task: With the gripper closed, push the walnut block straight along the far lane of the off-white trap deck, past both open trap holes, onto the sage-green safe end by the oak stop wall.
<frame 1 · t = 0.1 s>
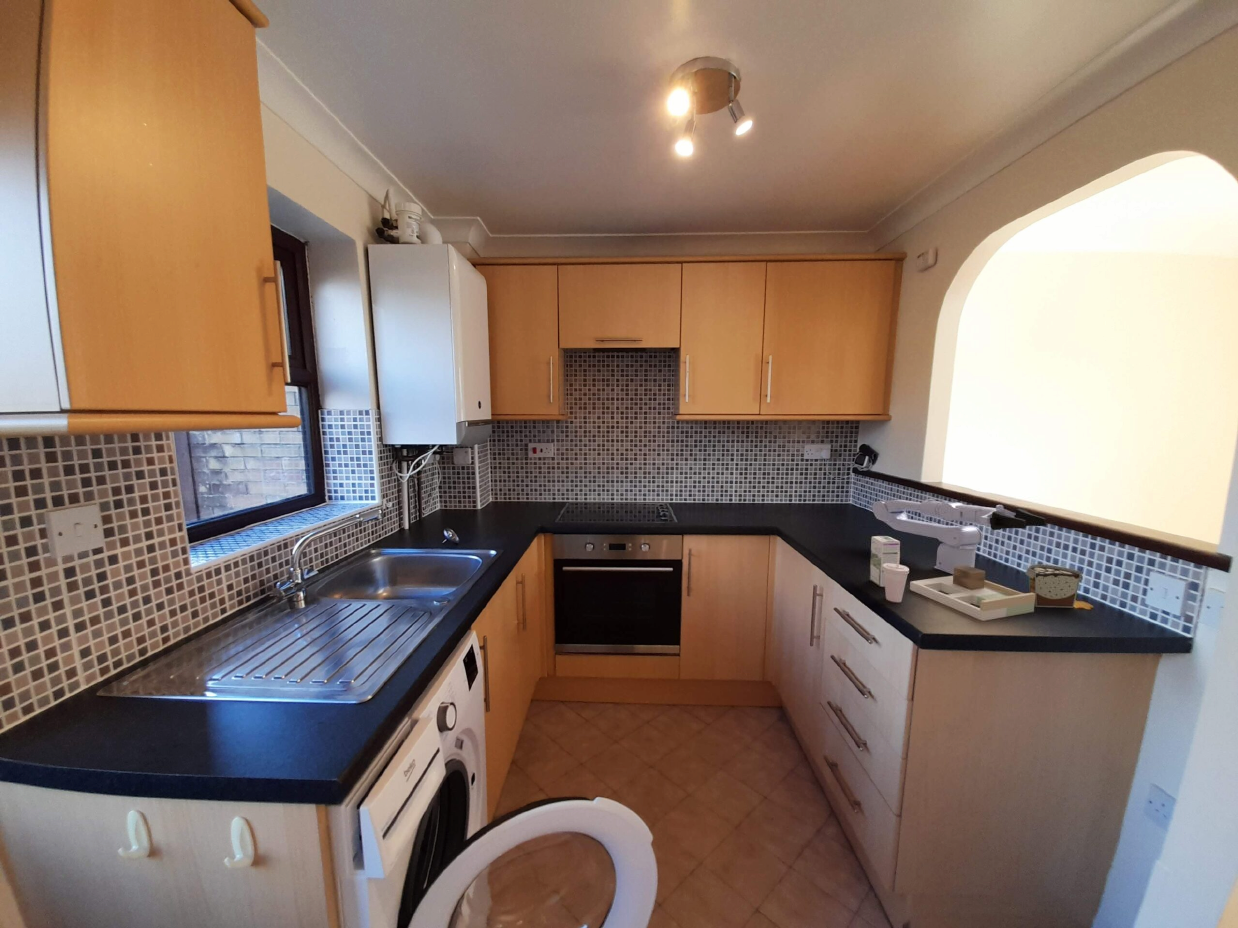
hand: (1035, 523, 116), 22 cm above the worktop, tool horizontal, fingers open, 7 cm apart
food container: (1043, 602, 115), on the worktop
smoothie: (893, 600, 118), on the worktop
trap deck: (967, 599, 117), on the worktop
walnut block: (968, 585, 120), point 2 cm above the worktop, touching trap deck
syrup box: (883, 583, 129), on the worktop
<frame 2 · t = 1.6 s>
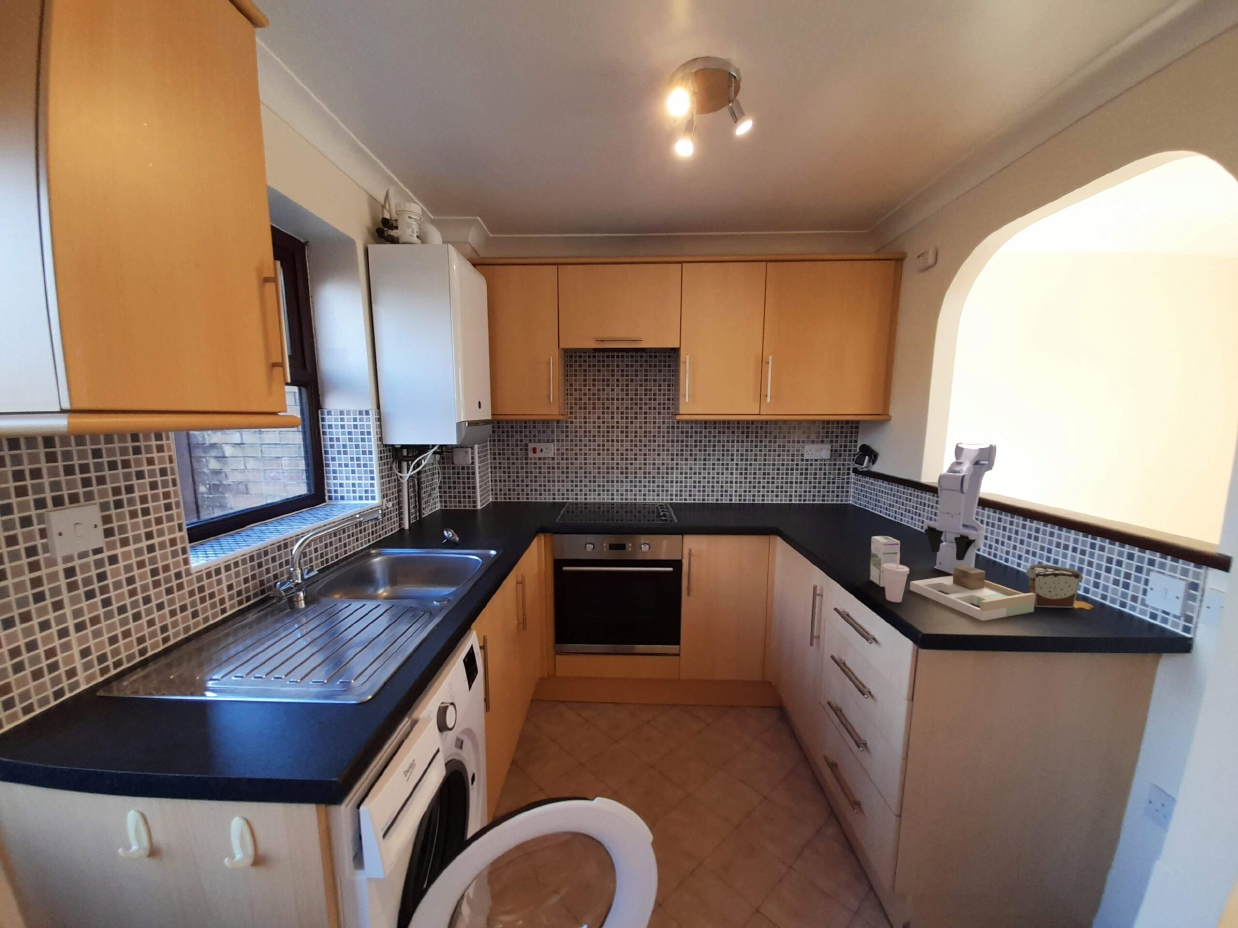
hand: (947, 555, 126), 9 cm above the worktop, tool pointing down, fingers open, 7 cm apart
nothing on the worktop moved.
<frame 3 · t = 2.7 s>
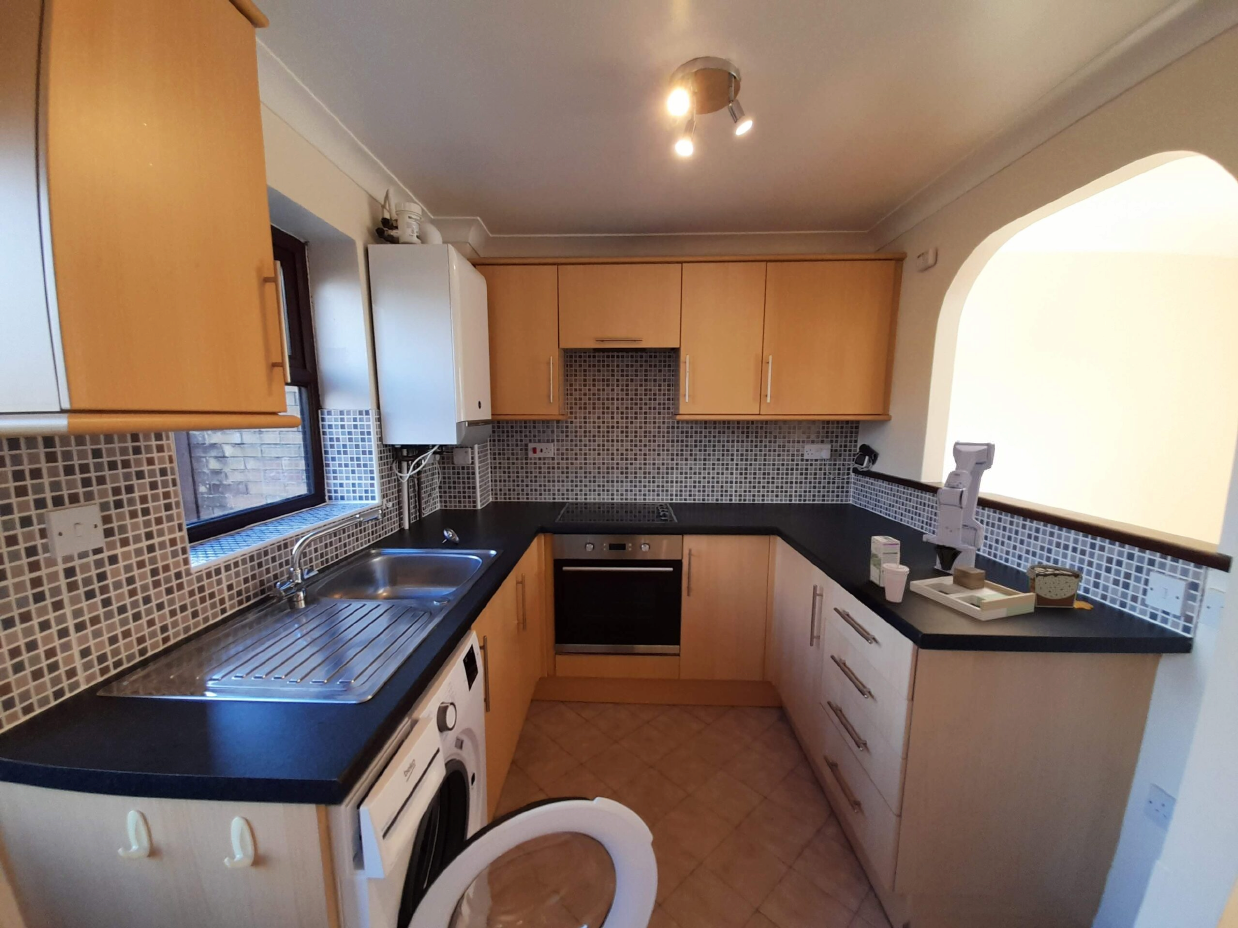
hand: (946, 569, 126), 5 cm above the worktop, tool pointing down, fingers closed
nothing on the worktop moved.
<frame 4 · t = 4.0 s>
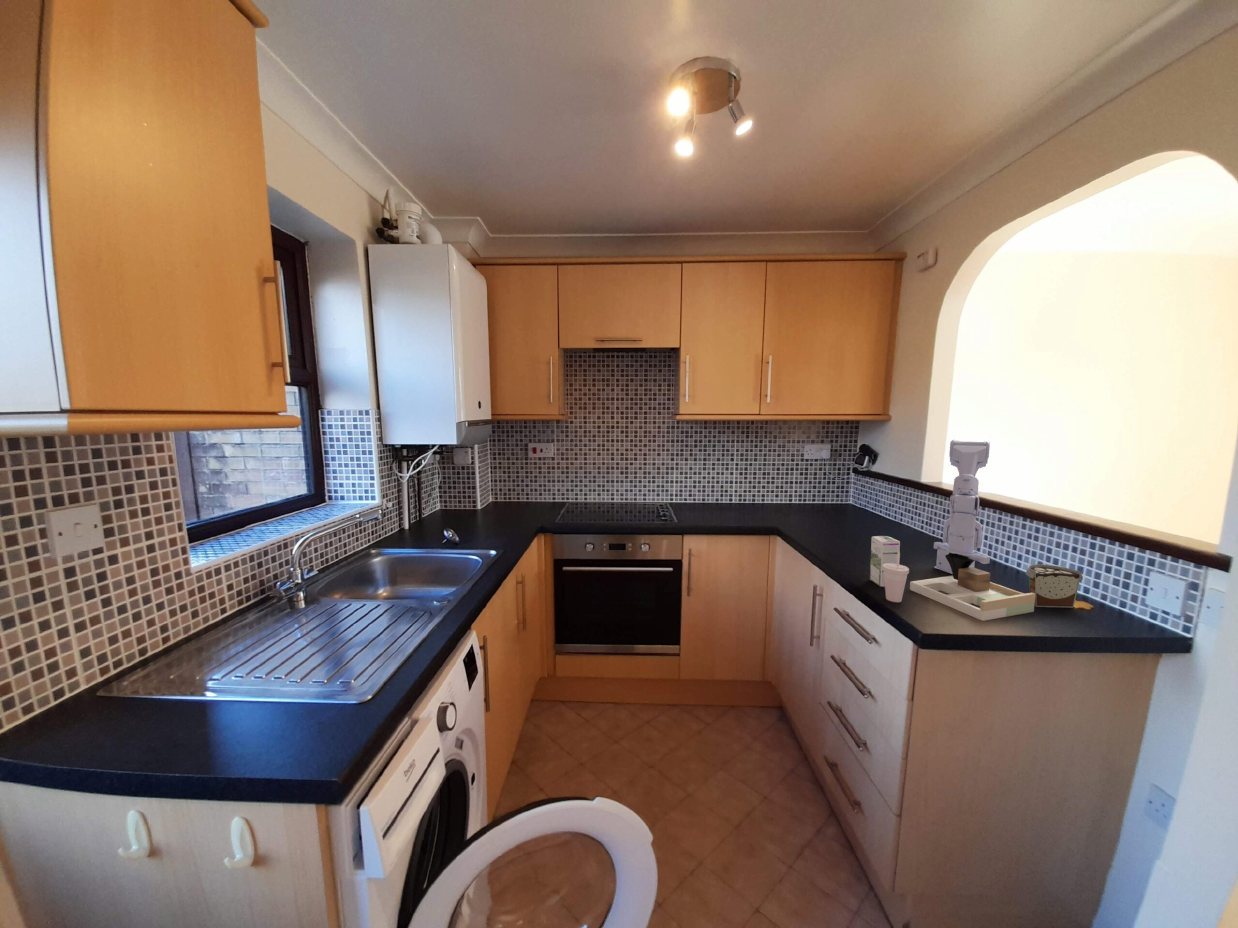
hand: (958, 578, 123), 3 cm above the worktop, tool pointing down, fingers closed
walnut block: (973, 587, 119), point 3 cm above the worktop, touching gripper, trap deck
everything else where it was.
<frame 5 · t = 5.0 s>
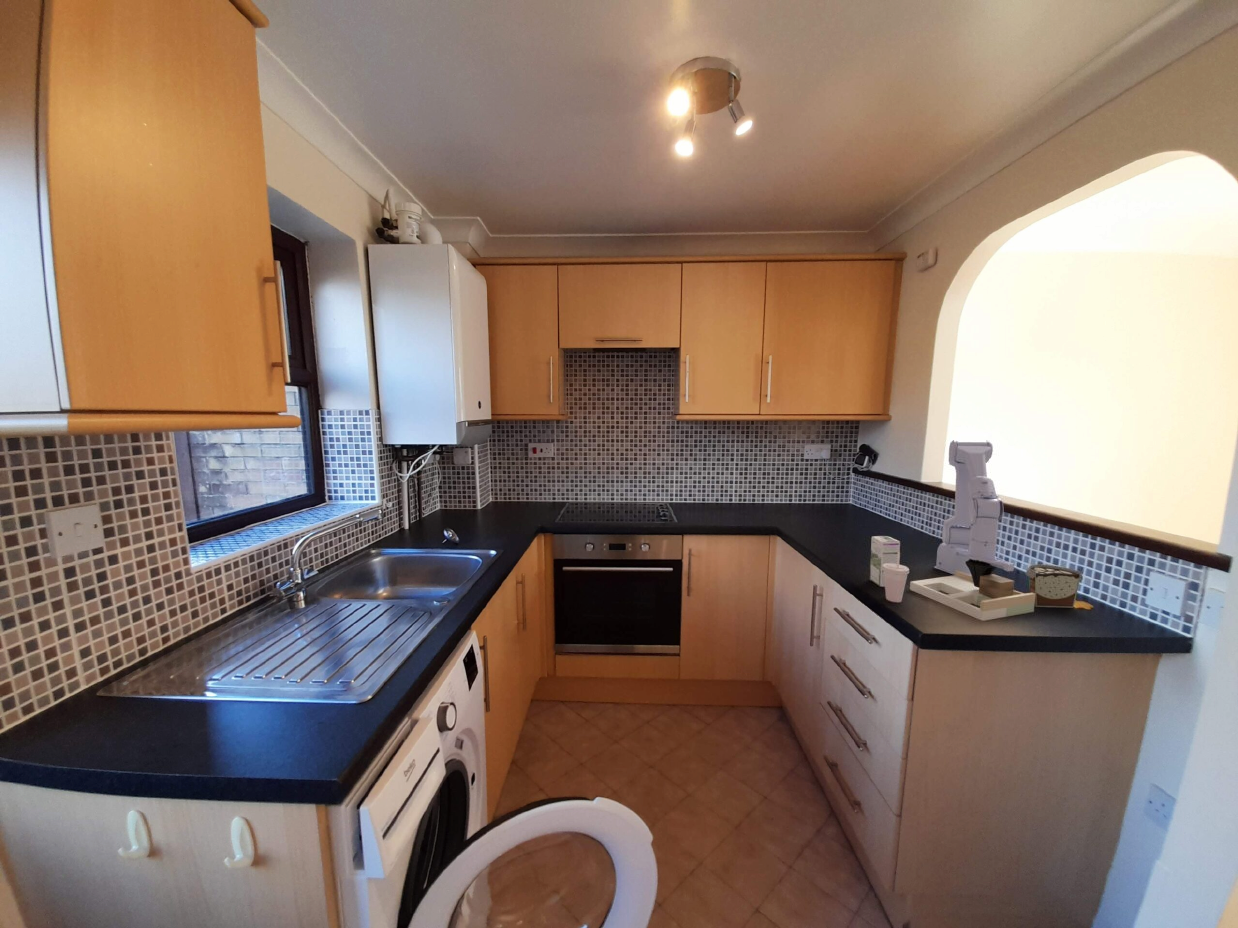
hand: (979, 586, 117), 3 cm above the worktop, tool pointing down, fingers closed
walnut block: (995, 595, 113), point 3 cm above the worktop, touching gripper
everything else where it was.
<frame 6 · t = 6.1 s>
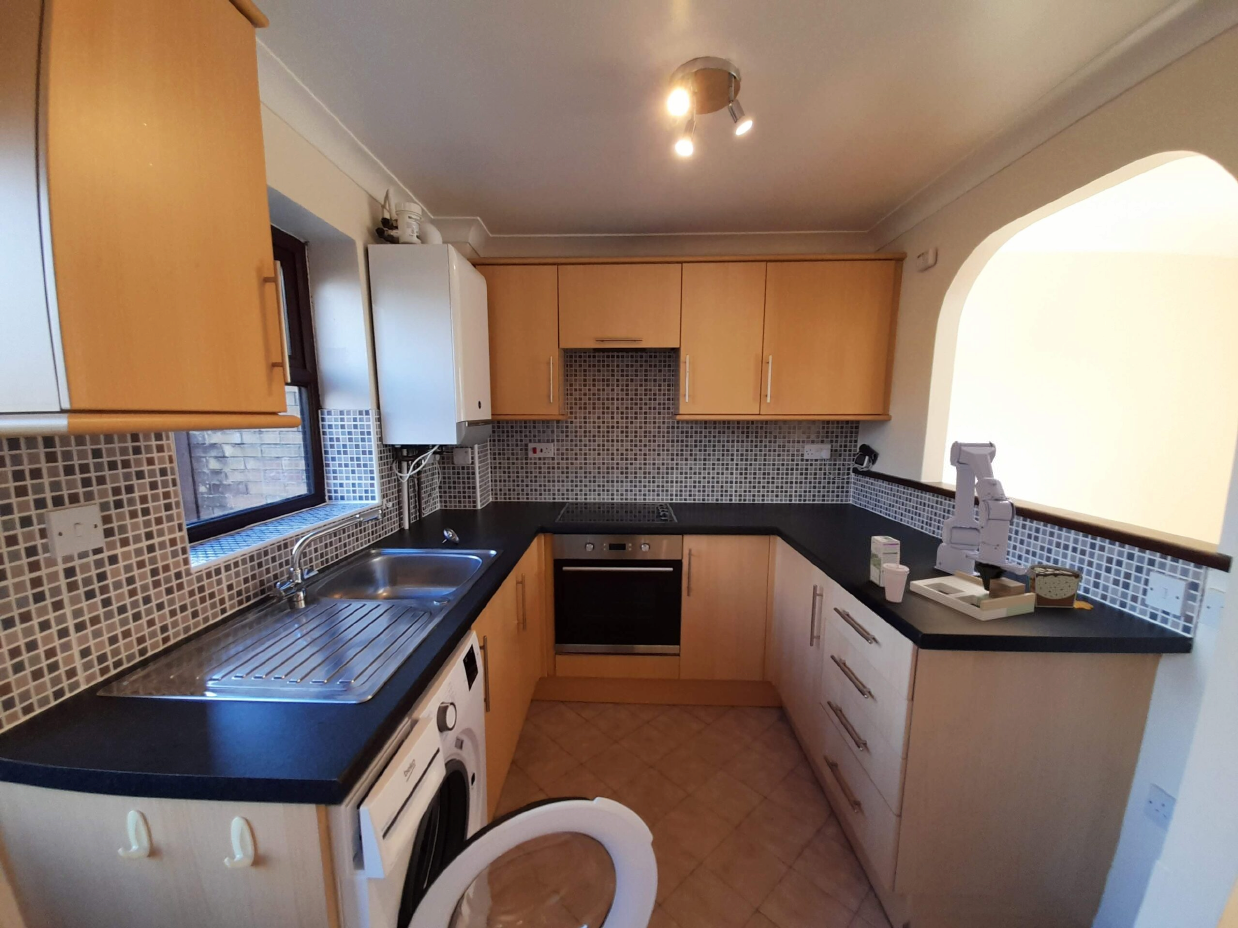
hand: (989, 590, 115), 3 cm above the worktop, tool pointing down, fingers closed
walnut block: (1005, 599, 111), point 2 cm above the worktop, touching gripper, trap deck
everything else where it was.
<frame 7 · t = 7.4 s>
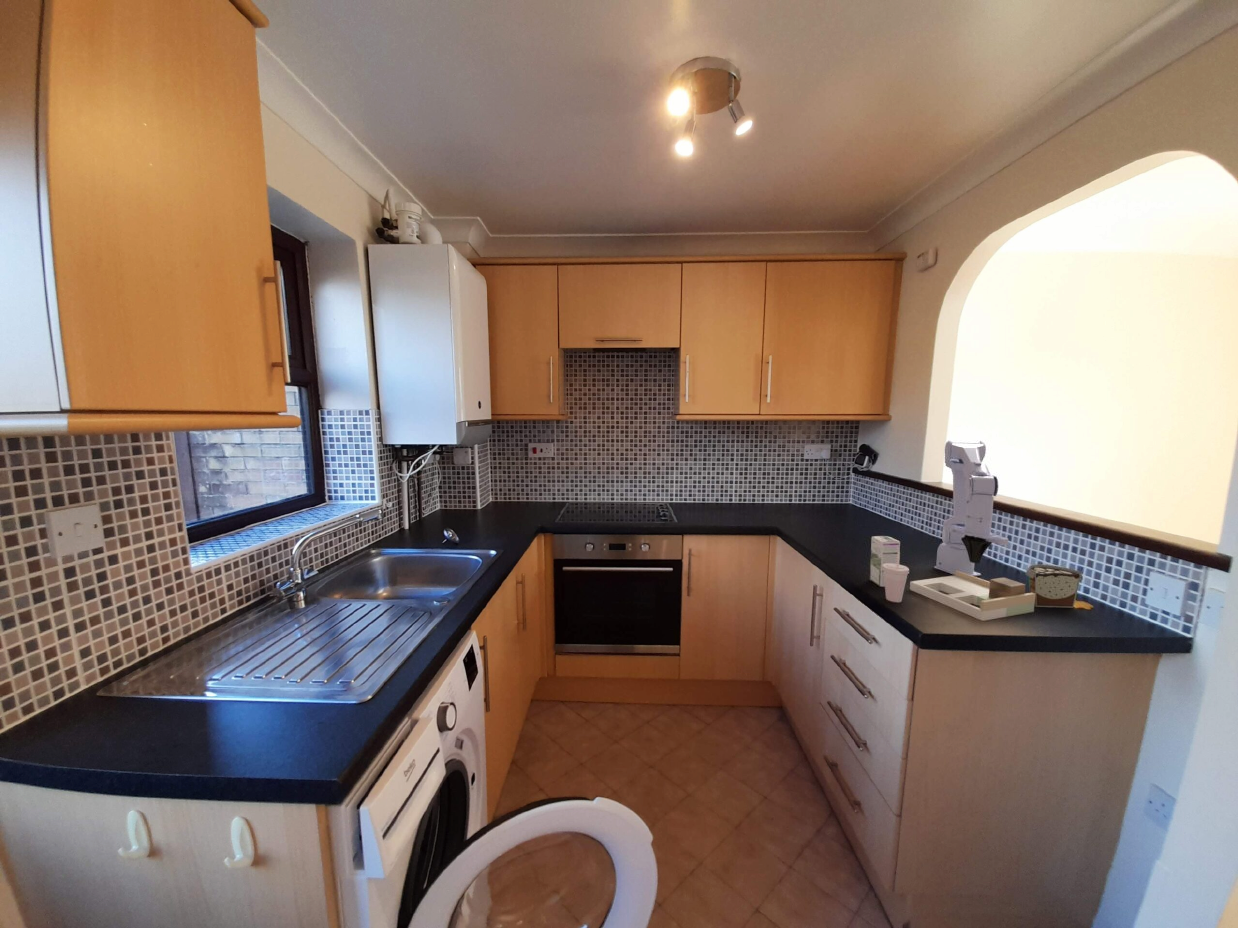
hand: (974, 562, 120), 9 cm above the worktop, tool pointing down, fingers closed
walnut block: (1005, 599, 111), point 2 cm above the worktop, touching trap deck
everything else where it was.
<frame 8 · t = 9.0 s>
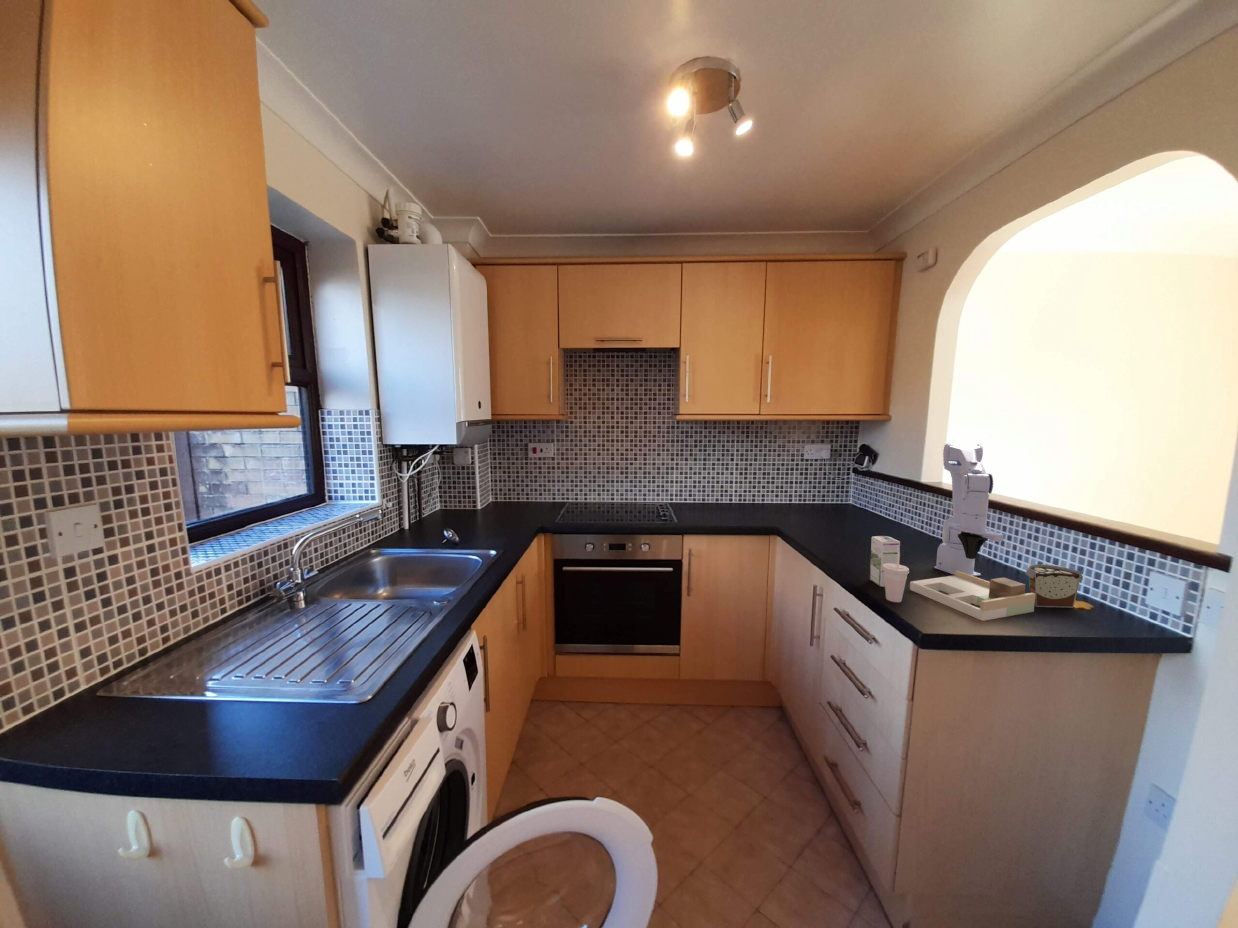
hand: (970, 558, 123), 9 cm above the worktop, tool pointing down, fingers closed
nothing on the worktop moved.
at the end: walnut block 0.8 cm from the target spot on the trap deck, point 2.5 cm above the trap deck's base; walnut block tilted 0°; walnut block touching trap deck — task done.
